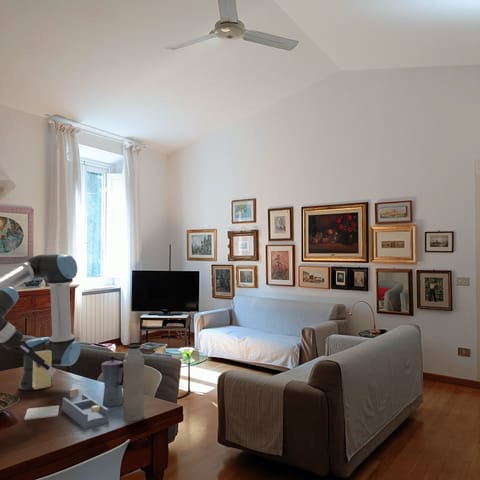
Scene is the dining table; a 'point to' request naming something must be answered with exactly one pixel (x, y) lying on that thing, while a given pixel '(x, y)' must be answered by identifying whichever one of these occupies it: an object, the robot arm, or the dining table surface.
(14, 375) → the dining table surface
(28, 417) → the white square mat
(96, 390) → the dining table surface
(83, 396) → the grey divided tray
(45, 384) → the tan cardboard box
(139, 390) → the thermos bottle
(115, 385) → the moka pot
